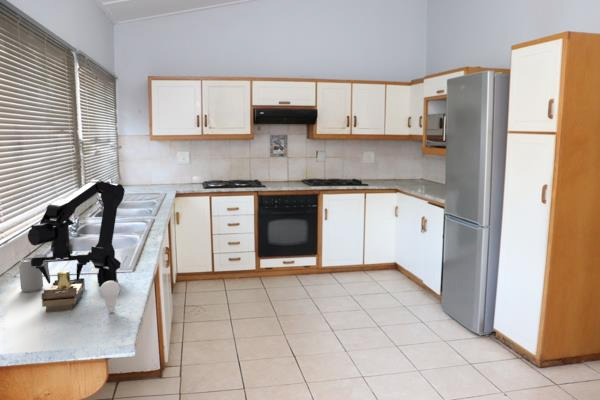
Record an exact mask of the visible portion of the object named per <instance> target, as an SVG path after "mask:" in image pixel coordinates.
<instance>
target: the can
mask: <svg viewBox="0 0 600 400" xmlns="http://www.w3.org/2000/svg"><path fill="white" fill-rule="evenodd" d="M33 257H34V256H33ZM33 257H32V256H31V257H25V258H22V259H20V263H18V270H19V271H18V272H19V280H20V291H21V290H22V291H23V292H24V293H34V292H38V291H40V290H41V289H42V288H43V287H44V279H43V277H44V276H43V273H42V272H41V271H40V270H39V269H38V268H36V266H31V259H32V258H33Z"/></svg>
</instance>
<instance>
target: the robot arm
mask: <svg viewBox="0 0 600 400" xmlns="http://www.w3.org/2000/svg"><path fill="white" fill-rule="evenodd" d="M125 191H126V190H125V188H124V186H123V185H122V184H119V183H111V182H110V183H109V182H105V181H103V180H101V179H100V180H99V179H91V180H90V181H88V183H87V184H85V185H83V186H82V187H81V188H79V189H78V190H76V191H74V192H73V193H71V194H70V195H69V196H68V197H66V198H63V199H59V200H55V201H54V202H51V203H49V204H48V205H47V206H46V211H45V212H44V214H43V216H42V217H41V220H40V221H39V224H31V228H30V229H29V231H28V233H27V238H28V242H29V243H30V244H31V245H32V246H39V245H43V244H47V243H51V244H50V251H51V252H52V256H51V255H50V256H47V254H46V253H43V254H39V253H38V254H35V255H34V256H33V258H32V259H31V266H36V268H38V269H39V270H40V271H41V272H42V276H43V277H44V278H45V280H46V281H47V283H48V284H51V276H50V274H51V273H50V270H49V263H53V262H54V263H55V262H69V261H70V262H71V261H77V264H76V278H75V279H77V281H79V279H80V276H81V272H82V269H83V267H84V266H86V265H87V264H88V263H90V262H91V263H92V265H93V266H94V269H97V270H98V271H97V274H96V275H97V276H96V277H97V284H98V287H101V286H102V284H103V283H104V282H106V281H115V282H116V283H118V281H119V279H118V273H117V270H119V269H121V264H122V263H121V262H120V261H119V260H118V259H117V258H116V252H115V248H114V245H113V239H114V233H115V227H116V226H115V225H116V217H117V211H118V208H119V206H120V205H121V203H122V202H123V200H124V196H125ZM96 194H100V199H101V202H102V204H103V207H102V208H103V210H102V215H101V222H100V229H99V235H98V240H97V241H98V242H97V243H96V244H95V246H91V250H89V251H79V252H78V254H73V253H74V252H73V246H74V245H73V244H72V243H71V241H70V228H69V226H73V225H75V222H74V221H71V219H70V218H71V217H72V216H73V215H74V214H75V212H76V209H78V207H80V206H82V204H84V203H85V202H86V201H88V200H90V199H91V198H92V197H93V196H94V195H96Z"/></svg>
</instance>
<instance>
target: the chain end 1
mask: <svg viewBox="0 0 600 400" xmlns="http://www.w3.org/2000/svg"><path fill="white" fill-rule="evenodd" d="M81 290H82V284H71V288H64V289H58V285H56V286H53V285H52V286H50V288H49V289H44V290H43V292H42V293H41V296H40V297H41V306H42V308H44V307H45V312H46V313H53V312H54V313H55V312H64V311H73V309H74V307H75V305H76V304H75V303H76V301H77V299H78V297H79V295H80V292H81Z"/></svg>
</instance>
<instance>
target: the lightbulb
mask: <svg viewBox="0 0 600 400" xmlns="http://www.w3.org/2000/svg"><path fill="white" fill-rule="evenodd" d="M120 290H121V289H120V284H118V282H117V283H116V282H115V281H106V282H104V283H103V284H102V286H100V288H99V293H100V295H101V296H102V298H103V299H104V303H105V306H106V311H107V312H108V313H110V314H113V313H114V312H115V311H116V304H117V298H118V296H119V294H120Z"/></svg>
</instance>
